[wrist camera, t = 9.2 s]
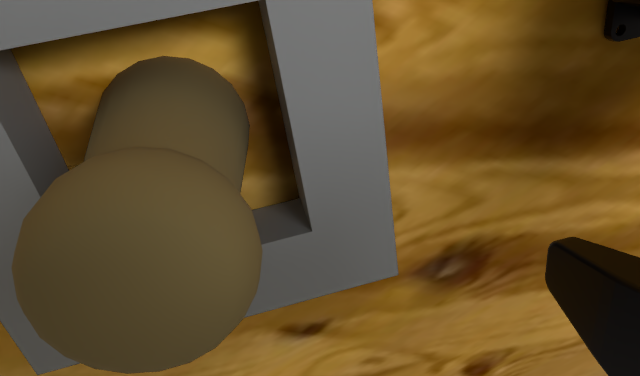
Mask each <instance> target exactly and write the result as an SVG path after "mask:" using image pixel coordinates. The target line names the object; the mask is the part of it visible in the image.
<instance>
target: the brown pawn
mask: <svg viewBox="0 0 640 376" xmlns="http://www.w3.org/2000/svg"><path fill="white" fill-rule="evenodd" d="M249 127H250V125H249V121H248V117H247V113H246V109H245V105H244V103H243V101H242V100H241V98H240V97H239V95H238V94H237V92H236V90H235V89H234V87H233V86H232V84H231V83H229V82H228V81H227V80H226V79H225V78H223V77H222V76H221V75H220V74H219V73H217V72H216V71H215V70H214V69H213V68H210V67H208V66H205V65H203V64H201V63H198V62H196V61H194V60H191V59H188V58H178V57H168V56H161V57H157V58H152V59H147V60H143V61H138V62H137V63H135V64H133V65H132V66H130V67H128V68H127V69H125V70H123V71H122V72H120V73H119V74H117V75H116V77H115V78H114V79H113V81H112V82H111V83H110V84H109V86H108V87H107V88H106V89H105V91H104V92H103V94H102V97H101V101H100V104H99V107H98V111H97V114H96V118H95V121H94V125H93V129H92V132H91V136H90V140H89V144H88V147H87V151H86V155H85V158H84V162H83V163H81V164H79V165H78V166H76V167H74V168H73V169H71V170H69V171H68V172H66V173H64V174H63V175H61V176H59V177H58V178H56V179H55V180H54V181H53V183H52V184H51V185H50V186H49V188H48V189H47V190H46V191H45V193H44V194H43V195H42V196H41V198H40V199H39V200H38V201H37V203H36V204H35V205H34V206H33V208H32V209H31V210H30V211H29V213H28V214H27V215H26V216H25V218H24V219H23V222H22V226H21V229H20V233H19V237H18V241H17V244H16V248H15V252H14V257H13V262H12V274H13V280H14V285H15V291H16V296H17V300H18V302H19V304H20V306H21V309H22V311H23V313H24V314H25V316H26V317H27V319H28V320H29V322H30V323H31V325H32V326H33V328H34V330H35V331H36V333H37V334H38V336H39V337H40V338H41V339H42V340H44V341H45V342H46V343H48V344H49V345H50V346H51V347H53V348H54V349H55V350H57V351H58V352H59V353H61V354H62V355H63V356H64V357H67V358H69V359H72V360H74V361H77V362H79V363H82V364H84V365H87V366H89V367H92V368H94V369H100V370H107V371H113V372H120V373H127V374H128V373H143V372H157V371H163V370H166V369H169V368H173V367H176V366H180V365H183V364H186V363H190V362H191V361H193V360H195V359H197V358H198V357H200V356H202V355H204V354H205V353H207V352H209V351H211V350H212V349H214V348H216V347H217V346H218V345H219V344H220V343H221V342H222V341H223V340H224V339H225V338H226V337H227V336H228V335H229V334H230V333H231V331H232V330H233V329H234V328H235V327H236V326H237V325H238V324H239V323H240V322H241V321H242V320H243V318H244V317H245V315H246V313H247V311H248V309H249V307H250V305H251V303H252V301H253V299H254V297H255V295H256V293H257V289H258V284H259V280H260V272H261V262H262V252H263V250H262V246H261V241H260V237H259V233H258V230H257V226H256V223H255V219H254V215H253V212H252V210H251V208H250V207H249V205H248V204H247V203H246V201H245V200H244V199H243V197H242V196H241V194H240V192H241V186H242V180H243V174H244V168H245V162H246V155H247V149H248V140H249Z"/></svg>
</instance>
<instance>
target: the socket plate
mask: <svg viewBox="0 0 640 376" xmlns="http://www.w3.org/2000/svg"><path fill="white" fill-rule="evenodd" d="M253 1H258V2H259V6H260V11H261V16H262V21H263V26H264V30H265V35H266V40H267V45H268V49H269V54H270V59H271V64H272V69H273V73H274V78H275V83H276V88H277V92H278V97H279V102H280V107H281V111H282V116H283V121H284V126H285V131H286V135H287V140H288V145H289V150H290V154H291V159H292V164H293V169H294V173H295V178H296V183H297V188H298V193H299V197H300V198H299V199H295V200H291V201H287V202H283V203H279V204H275V205H271V206H267V207H263V208H259V209H255V210H252V212H253V215H254V219H255V223H256V226H257V230H258V233H259V237H260V241H261V246H262V250H263V252H262V262H261V272H260V280H259V284H258V289H257V293H256V295H255V297H254V299H253V301H252V303H251V305H250V307H249V309H248V311H247V313H246V315H245V317H248V316H252V315H256V314H259V313H263V312H266V311H270V310H274V309H277V308H281V307H284V306H288V305H292V304H295V303H299V302H302V301H306V300H309V299H313V298H317V297H320V296H324V295H327V294H331V293H335V292H338V291H342V290H345V289H349V288H353V287H356V286H360V285H363V284H367V283H371V282H374V281H378V280H381V279H385V278H389V277H392V276H396V275H398V265H397V255H396V245H395V234H394V224H393V213H392V203H391V192H390V182H389V171H388V161H387V150H386V140H385V130H384V119H383V109H382V98H381V88H380V77H379V67H378V56H377V46H376V35H375V25H374V15H373V4H372V0H0V321H1V323H2V324H3V326H4V327H5V329H6V330H7V331H8V333H9V334H10V336H11V337H12V339H13V340H14V342H15V343H16V345H17V346H18V347H19V349H20V350H21V352H22V353H23V355H24V356H25V358H26V359H27V361H28V362H29V363H30V365H31V366H32V368H33V369H34V371H35V372H36V374H37V375H40V374H43V373H47V372H50V371H54V370H58V369H61V368H65V367H68V366H72V365H76V364H79V362H77V361H74V360H72V359H69V358H67V357H64V356H63V355H62V354H61V353H59V352H58V351H57V350H55V349H54V348H53V347H51V346H50V345H49V344H48V343H46V342H45V341H44V340H42V339H41V338H40V337H39V336H38V334H37V333H36V331H35V330H34V328H33V326H32V325H31V323H30V322H29V320H28V319H27V317H26V316H25V314H24V313H23V311H22V309H21V306H20V304H19V302H18V300H17V296H16V291H15V285H14V280H13V274H12V262H13V257H14V252H15V248H16V244H17V241H18V237H19V233H20V229H21V226H22V222H23V219H24V218H25V216H26V215H27V214H28V213H29V211H30V210H31V209H32V208H33V206H34V205H35V204H36V203H37V201H38V200H39V199H40V198H41V196H42V195H43V194H44V193H45V191H46V190H47V189H48V188H49V186H50V185H51V184H52V183H53V181H54V180H55V179H56V178H58V177H59V176H61V175H63V174H64V173H66V172H68V171H69V170H68V168H67V166H66V164H65V162H64V159H63V157H62V155H61V153H60V151H59V149H58V147H57V145H56V143H55V141H54V139H53V137H52V134H51V132H50V130H49V128H48V126H47V124H46V122H45V120H44V118H43V116H42V114H41V112H40V109H39V107H38V105H37V103H36V101H35V99H34V97H33V95H32V93H31V91H30V89H29V87H28V85H27V82H26V80H25V78H24V76H23V74H22V72H21V70H20V68H19V66H18V64H17V62H16V60H15V57H14V55H13V53H12V51H11V49H10V48H15V47H20V46H26V45H31V44H36V43H41V42H46V41H51V40H57V39H62V38H67V37H72V36H77V35H82V34H88V33H93V32H98V31H103V30H108V29H113V28H119V27H124V26H129V25H134V24H139V23H145V22H150V21H155V20H160V19H165V18H170V17H176V16H181V15H186V14H191V13H196V12H201V11H207V10H212V9H217V8H222V7H227V6H232V5H238V4H243V3H248V2H253ZM245 317H244V318H245Z"/></svg>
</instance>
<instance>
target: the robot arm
mask: <svg viewBox="0 0 640 376" xmlns="http://www.w3.org/2000/svg"><path fill="white" fill-rule="evenodd" d="M618 26H619V29H618V31H617V32H616V29H617V27H618ZM604 36H605V38H606V39H608V40H610V41H623V40H628V39H632V38H637V37H640V0H609V1H608V8H607V15H606V22H605V29H604ZM545 280H546V284H547V287H548V289H549V291H550V292H551V294H552V295H553V297H554V298H555V300H556V301H557V303H558V304H559V306H560V307H561V309H562V310H563V312H564V313H565V315H566V316H567V318H568V319H569V321H570V322H571V323H572V325H573V326H574V328H575V329H576V331H577V332H578V334H579V335H580V337H581V338H582V340H583V341H584V343H585V344H586V346H587V347H588V349H589V350H590V352H591V353H592V355H593V356H594V357H595V359H596V360H597V362H598V363H599V364H600V365H601V367H602V368H603V369H604V371H605V372H606V373H607V374H608V376H640V258H639V257H636V256H633V255H630V254H627V253H624V252H620V251H617V250H614V249H611V248H608V247H605V246H602V245H599V244H595V243H592V242H589V241H586V240H583V239H580V238H576V237H568V238H564V239H560V240H557V241H553V242H552V243H551V244H550V245H549V248H548V255H547V264H546V273H545Z"/></svg>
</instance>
